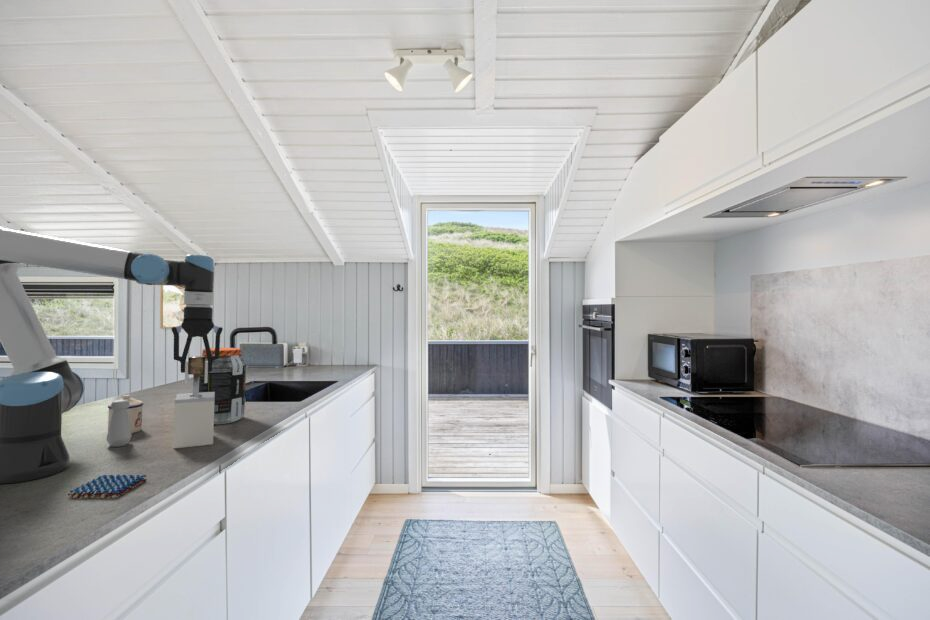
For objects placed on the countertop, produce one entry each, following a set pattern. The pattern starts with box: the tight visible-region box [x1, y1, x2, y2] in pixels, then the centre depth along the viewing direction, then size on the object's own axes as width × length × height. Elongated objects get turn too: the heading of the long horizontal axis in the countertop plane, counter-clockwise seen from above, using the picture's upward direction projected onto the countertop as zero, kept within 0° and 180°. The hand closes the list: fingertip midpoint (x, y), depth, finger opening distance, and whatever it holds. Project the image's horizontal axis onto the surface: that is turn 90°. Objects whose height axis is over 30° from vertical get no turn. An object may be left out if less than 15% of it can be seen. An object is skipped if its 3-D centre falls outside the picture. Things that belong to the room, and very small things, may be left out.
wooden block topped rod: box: [187, 355, 205, 397], centre depth 134 cm, size 7×7×24 cm
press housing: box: [172, 392, 215, 449], centre depth 134 cm, size 10×10×14 cm
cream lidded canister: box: [107, 394, 144, 434], centre depth 143 cm, size 12×9×12 cm
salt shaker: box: [106, 399, 132, 448], centre depth 129 cm, size 6×6×13 cm
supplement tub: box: [199, 347, 247, 425], centre depth 159 cm, size 16×16×26 cm
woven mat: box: [67, 474, 147, 500], centre depth 99 cm, size 10×11×2 cm
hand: (196, 382), depth 134 cm, fingers closed on wooden block topped rod, 4 cm apart
